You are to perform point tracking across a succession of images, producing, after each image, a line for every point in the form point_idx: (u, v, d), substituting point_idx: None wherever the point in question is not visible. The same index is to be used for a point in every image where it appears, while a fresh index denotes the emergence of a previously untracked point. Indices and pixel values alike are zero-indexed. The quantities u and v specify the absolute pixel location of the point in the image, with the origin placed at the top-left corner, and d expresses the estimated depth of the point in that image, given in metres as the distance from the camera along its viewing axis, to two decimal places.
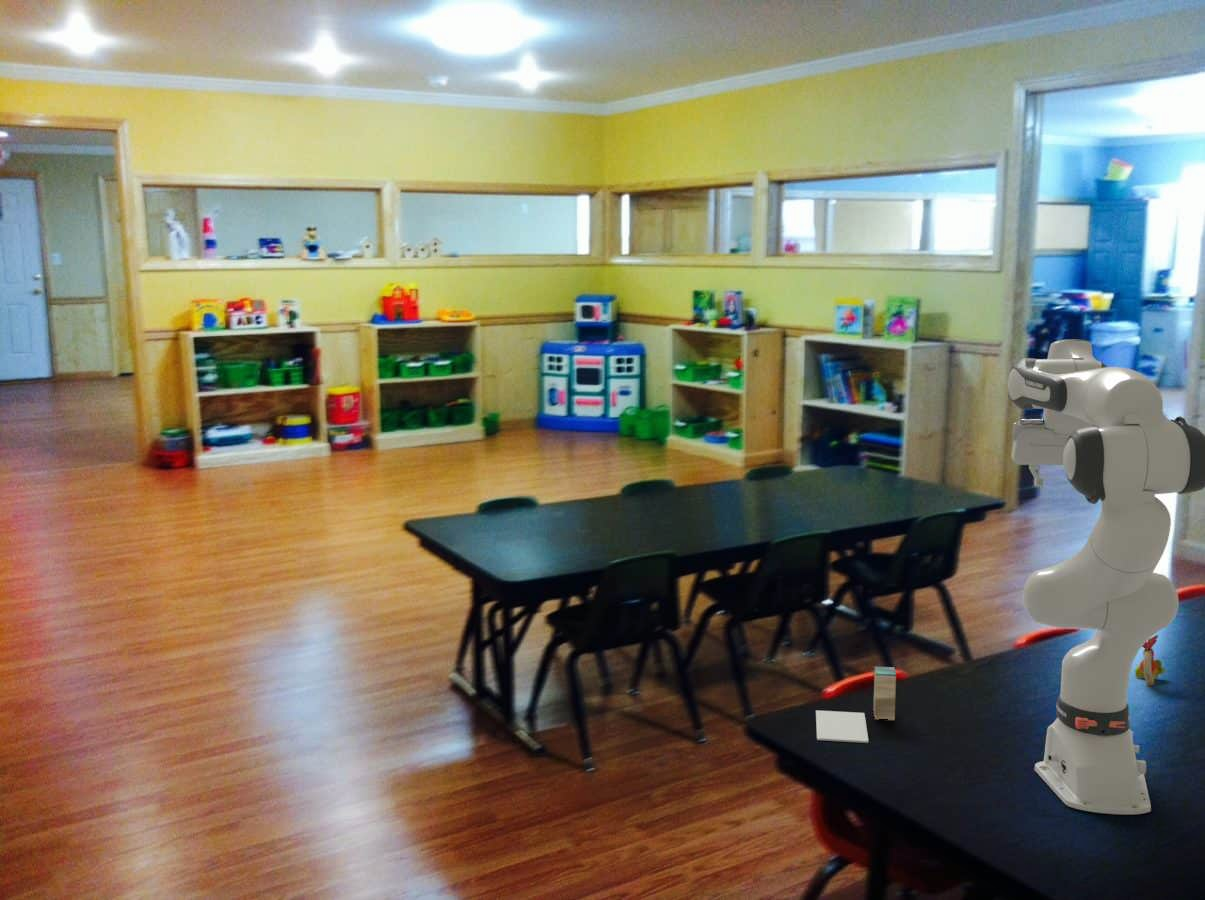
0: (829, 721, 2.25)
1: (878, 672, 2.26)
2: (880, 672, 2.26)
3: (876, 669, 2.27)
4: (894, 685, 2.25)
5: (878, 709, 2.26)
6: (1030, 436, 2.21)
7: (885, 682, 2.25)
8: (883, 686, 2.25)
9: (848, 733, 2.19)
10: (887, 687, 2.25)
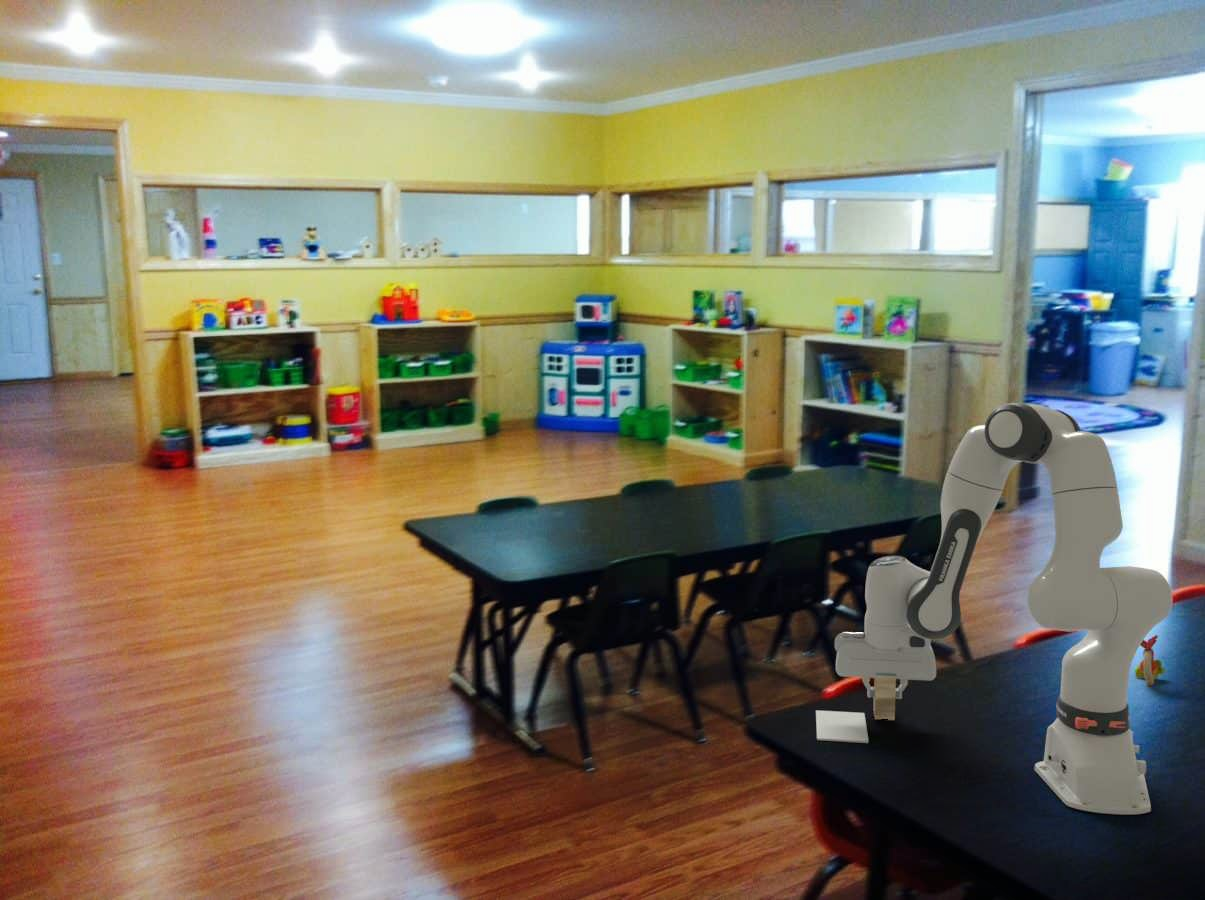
0: (829, 721, 2.25)
1: None
2: None
3: None
4: (894, 685, 2.25)
5: (878, 709, 2.26)
6: (851, 649, 2.26)
7: (885, 682, 2.25)
8: (883, 686, 2.25)
9: (848, 733, 2.19)
10: (887, 687, 2.25)
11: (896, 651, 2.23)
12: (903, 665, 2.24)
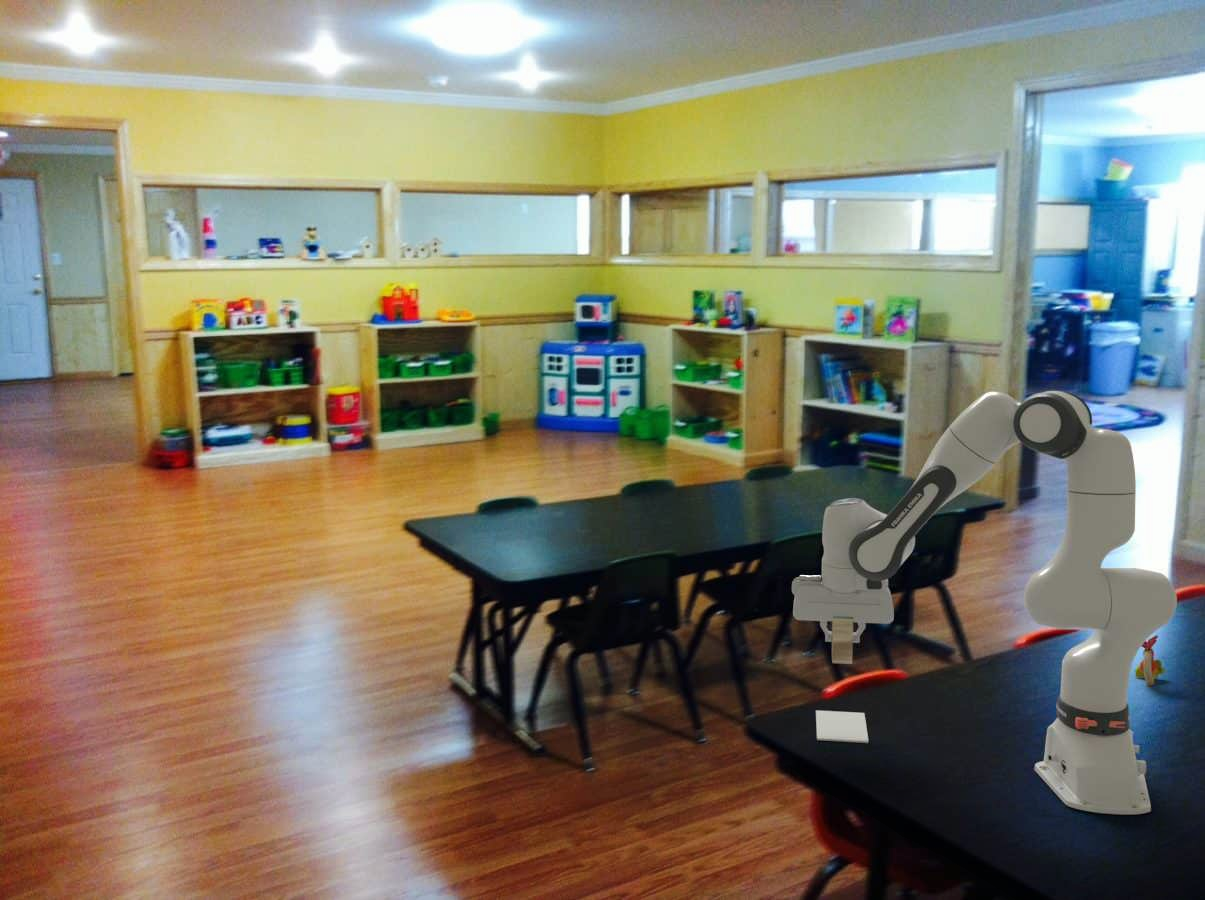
0: (829, 721, 2.25)
1: None
2: None
3: None
4: (851, 628, 2.22)
5: (836, 652, 2.24)
6: (808, 593, 2.23)
7: (842, 625, 2.22)
8: (840, 629, 2.23)
9: (848, 733, 2.19)
10: (844, 630, 2.23)
11: (853, 594, 2.20)
12: (861, 608, 2.21)
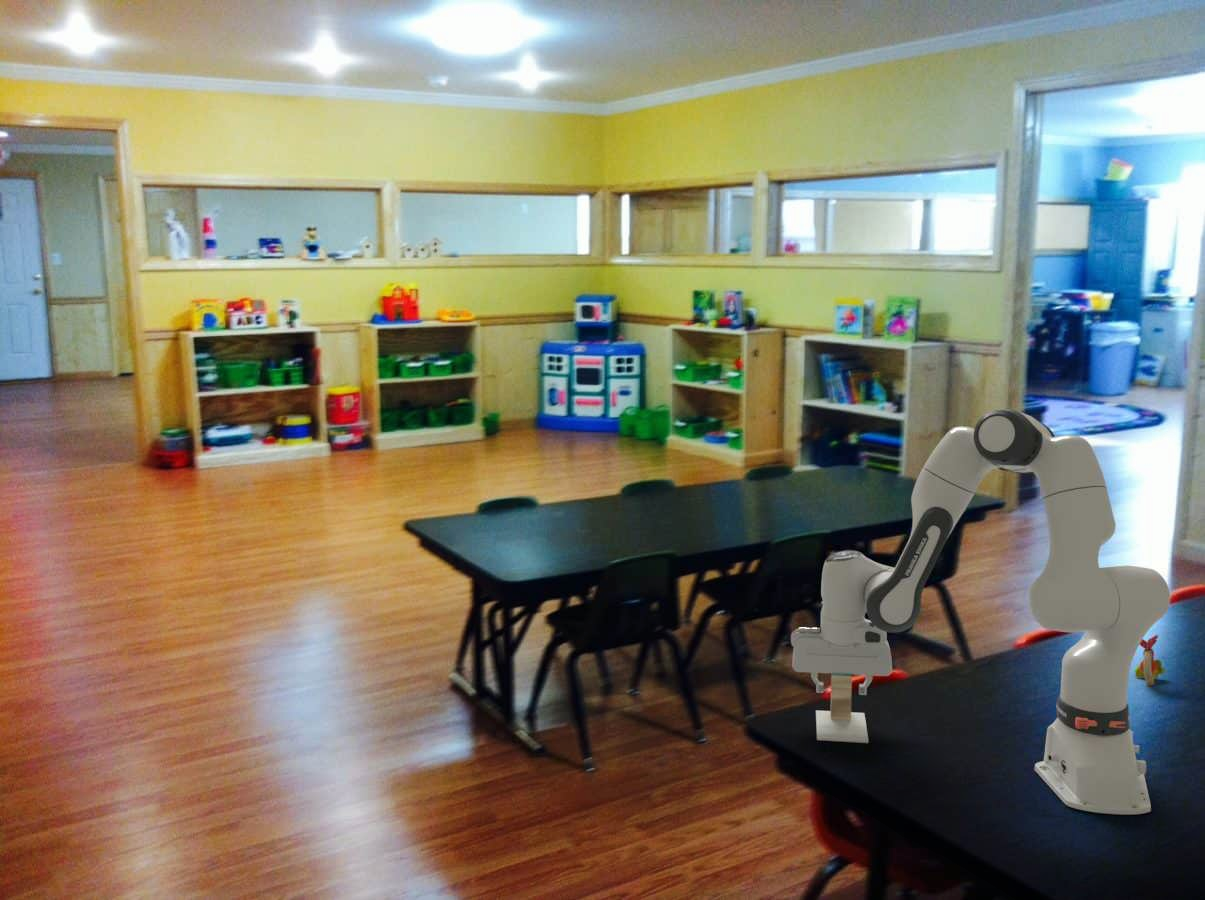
0: (829, 721, 2.25)
1: None
2: None
3: None
4: (850, 685, 2.24)
5: (834, 709, 2.26)
6: (807, 645, 2.24)
7: (841, 682, 2.24)
8: (839, 686, 2.25)
9: (848, 733, 2.19)
10: (843, 687, 2.24)
11: (852, 646, 2.22)
12: (859, 661, 2.23)
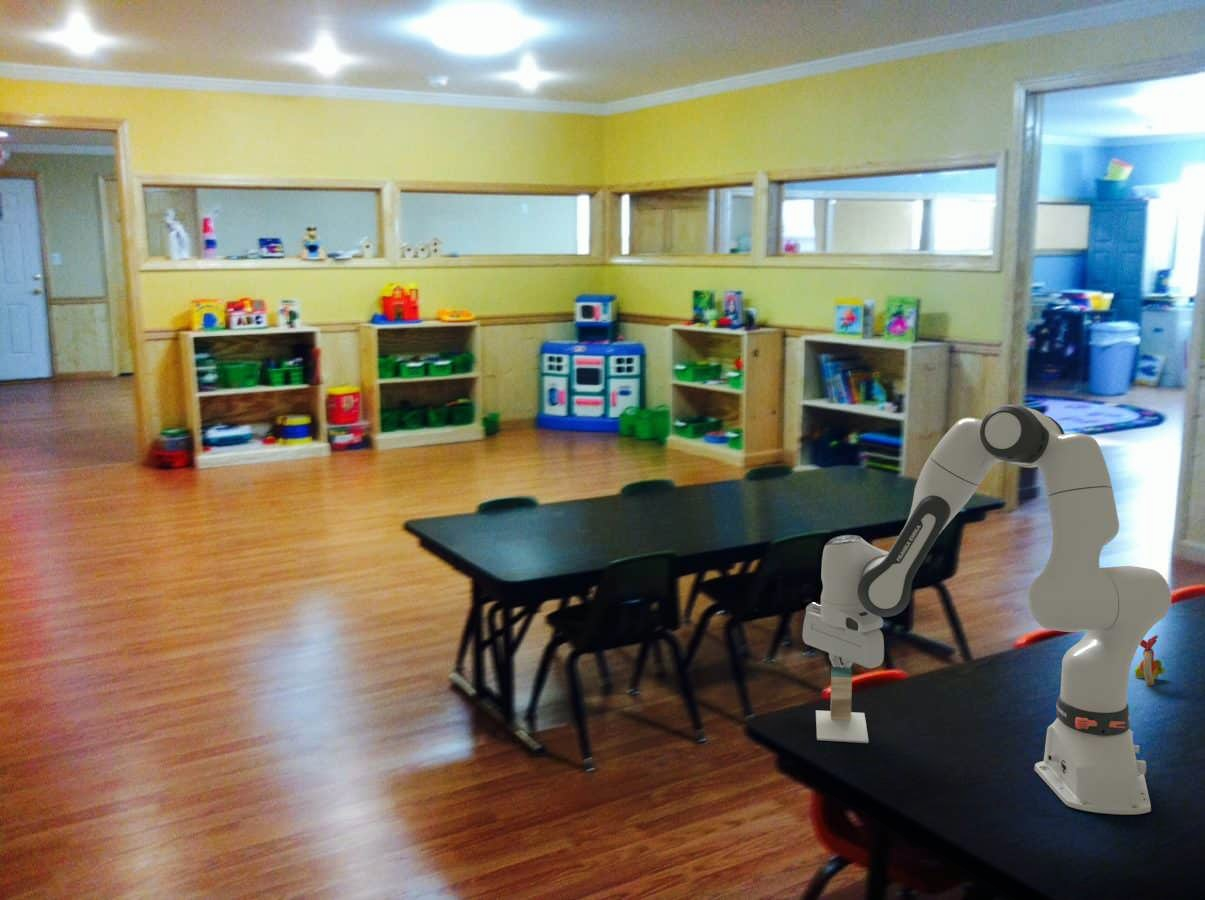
0: (829, 721, 2.25)
1: (834, 673, 2.24)
2: (836, 673, 2.24)
3: (833, 670, 2.26)
4: (850, 686, 2.24)
5: (834, 709, 2.25)
6: (811, 619, 2.33)
7: (841, 683, 2.24)
8: (839, 687, 2.24)
9: (848, 733, 2.19)
10: (843, 688, 2.24)
11: (840, 630, 2.25)
12: (847, 646, 2.25)
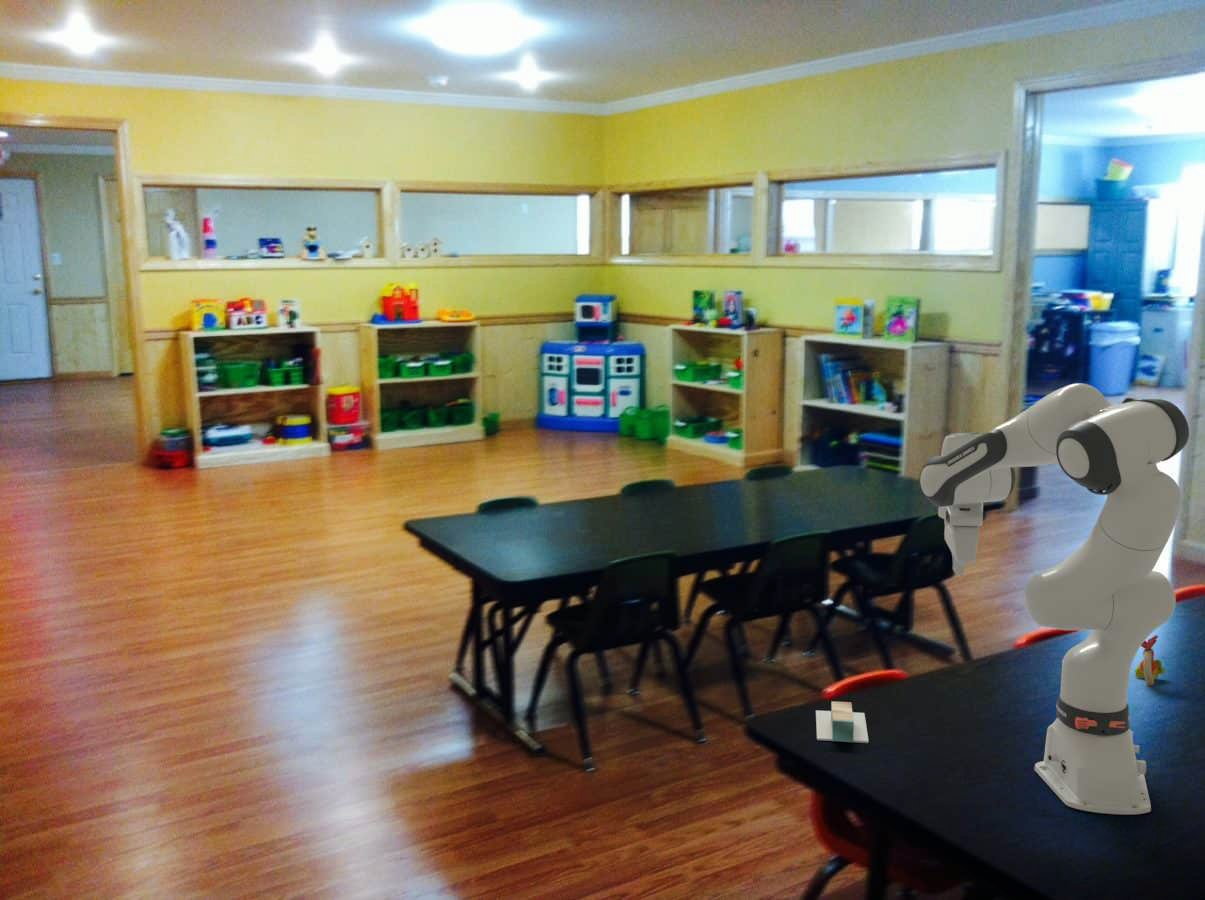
0: (829, 721, 2.25)
1: (835, 737, 2.16)
2: (837, 737, 2.16)
3: (834, 729, 2.16)
4: None
5: None
6: None
7: None
8: None
9: None
10: None
11: None
12: (952, 541, 2.25)
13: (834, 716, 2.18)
